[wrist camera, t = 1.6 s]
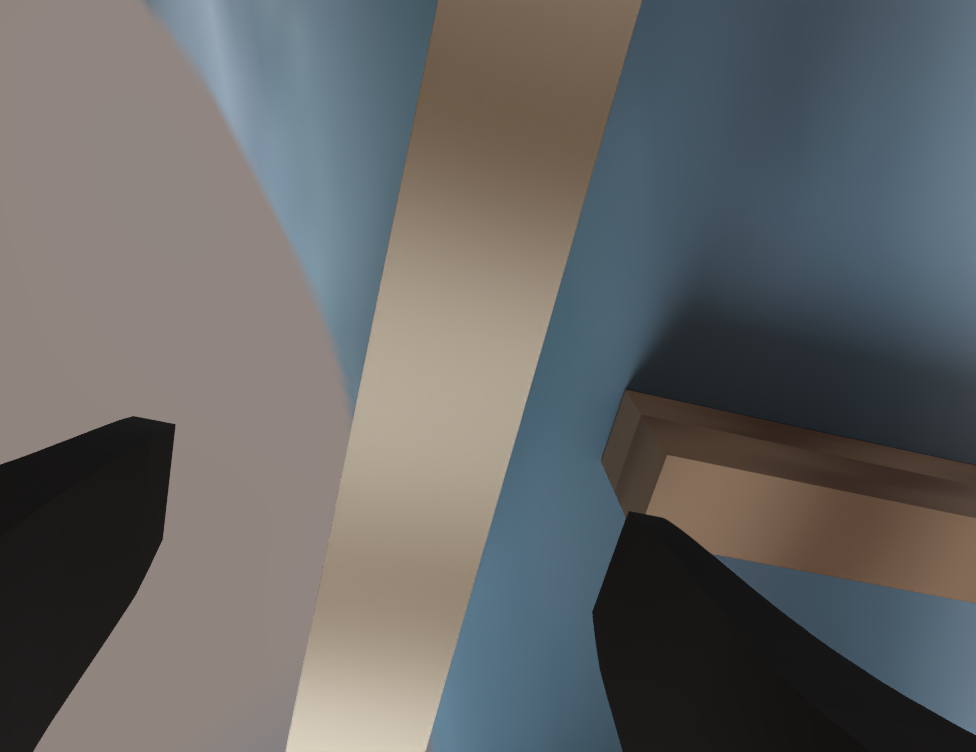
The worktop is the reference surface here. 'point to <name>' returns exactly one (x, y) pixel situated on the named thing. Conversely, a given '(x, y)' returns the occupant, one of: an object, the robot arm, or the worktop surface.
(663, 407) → the walnut stand
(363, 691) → the cross piece
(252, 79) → the worktop surface
